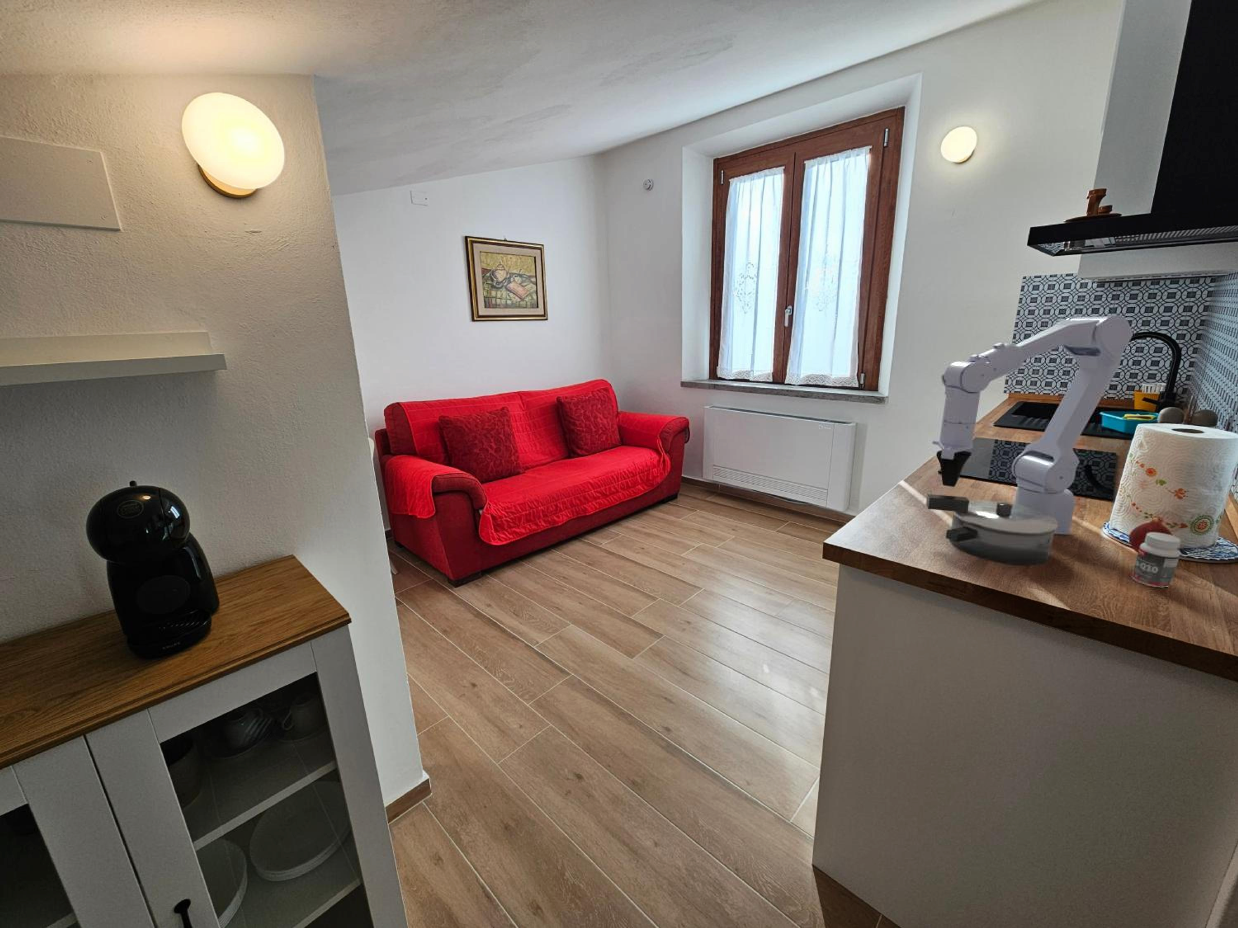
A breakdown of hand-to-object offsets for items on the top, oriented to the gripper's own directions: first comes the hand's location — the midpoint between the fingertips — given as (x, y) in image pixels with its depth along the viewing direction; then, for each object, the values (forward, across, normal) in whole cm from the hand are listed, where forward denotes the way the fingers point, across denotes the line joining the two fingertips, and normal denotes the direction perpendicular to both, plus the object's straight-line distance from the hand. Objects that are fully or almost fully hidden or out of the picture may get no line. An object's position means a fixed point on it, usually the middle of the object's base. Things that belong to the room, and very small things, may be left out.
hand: (949, 485), depth 109 cm
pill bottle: (+10, +4, +32) cm, 34 cm away
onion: (+10, -8, +32) cm, 34 cm away
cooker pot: (+10, +5, +9) cm, 14 cm away
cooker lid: (+4, +4, +8) cm, 10 cm away
